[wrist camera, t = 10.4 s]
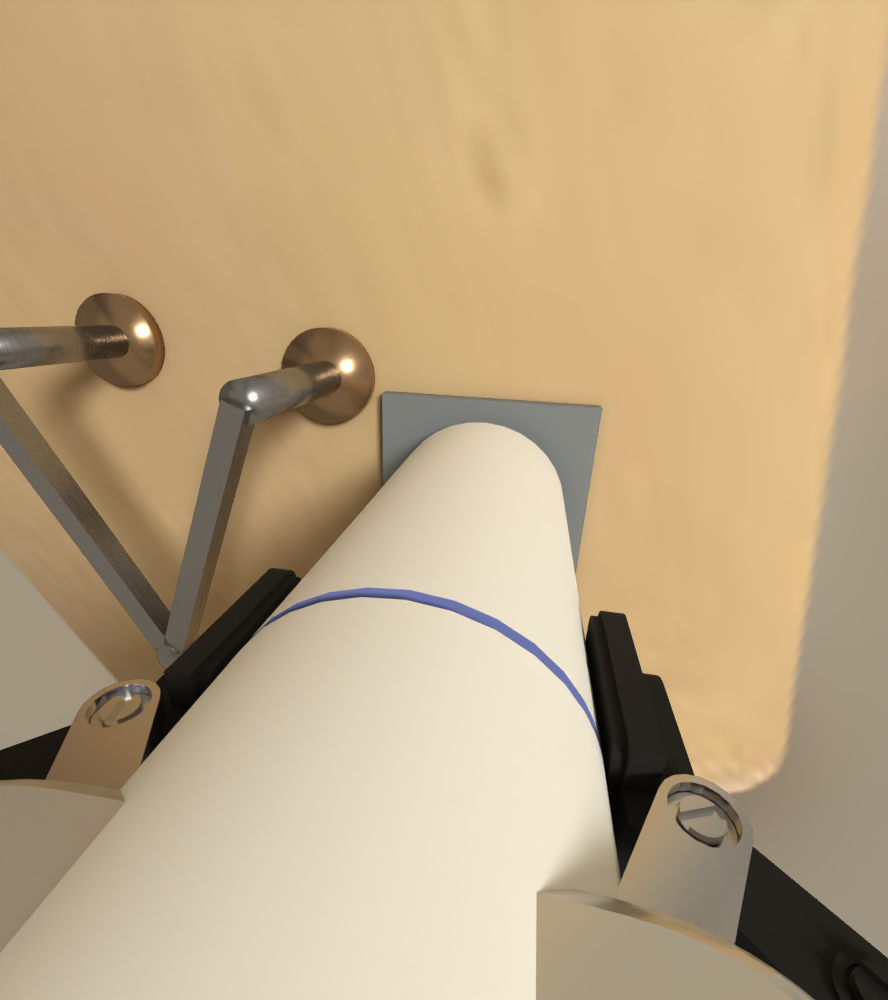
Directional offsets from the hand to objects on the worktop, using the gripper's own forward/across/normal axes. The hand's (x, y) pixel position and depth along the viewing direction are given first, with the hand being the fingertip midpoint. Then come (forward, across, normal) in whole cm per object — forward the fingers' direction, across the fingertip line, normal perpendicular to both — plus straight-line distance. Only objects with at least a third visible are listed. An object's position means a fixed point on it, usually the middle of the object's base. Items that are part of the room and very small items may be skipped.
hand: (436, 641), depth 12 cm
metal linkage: (+11, +12, -1) cm, 16 cm away
